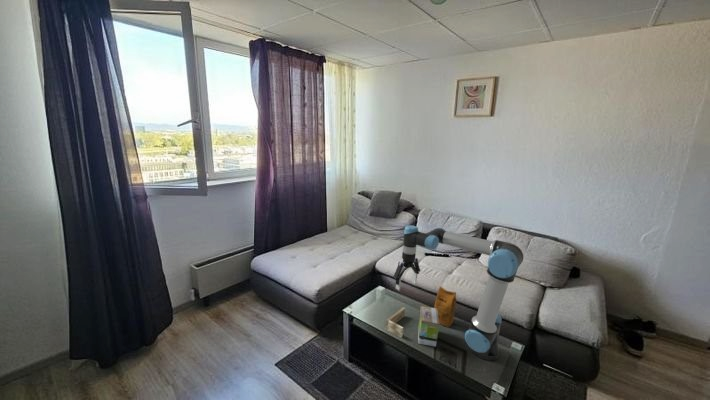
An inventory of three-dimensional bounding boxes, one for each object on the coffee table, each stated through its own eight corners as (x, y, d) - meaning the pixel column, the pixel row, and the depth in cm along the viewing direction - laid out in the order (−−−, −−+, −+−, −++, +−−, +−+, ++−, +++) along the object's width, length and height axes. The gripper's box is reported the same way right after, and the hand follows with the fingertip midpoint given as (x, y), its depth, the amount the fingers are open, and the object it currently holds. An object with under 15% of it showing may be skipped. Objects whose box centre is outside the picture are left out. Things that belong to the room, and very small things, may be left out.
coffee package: (437, 313, 189) (441, 282, 184) (455, 322, 180) (460, 290, 175) (429, 319, 182) (433, 287, 177) (447, 329, 173) (452, 296, 169)
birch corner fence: (417, 322, 178) (418, 314, 176) (401, 337, 163) (401, 328, 162) (402, 315, 184) (402, 307, 183) (385, 329, 170) (386, 320, 169)
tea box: (436, 347, 157) (439, 323, 154) (418, 343, 159) (420, 320, 156) (434, 330, 172) (437, 308, 169) (417, 327, 174) (420, 305, 171)
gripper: (418, 246, 175) (415, 278, 179) (388, 254, 160) (386, 289, 165) (428, 250, 169) (425, 283, 173) (398, 259, 154) (395, 294, 159)
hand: (406, 286), depth 169 cm, fingers open, 13 cm apart
